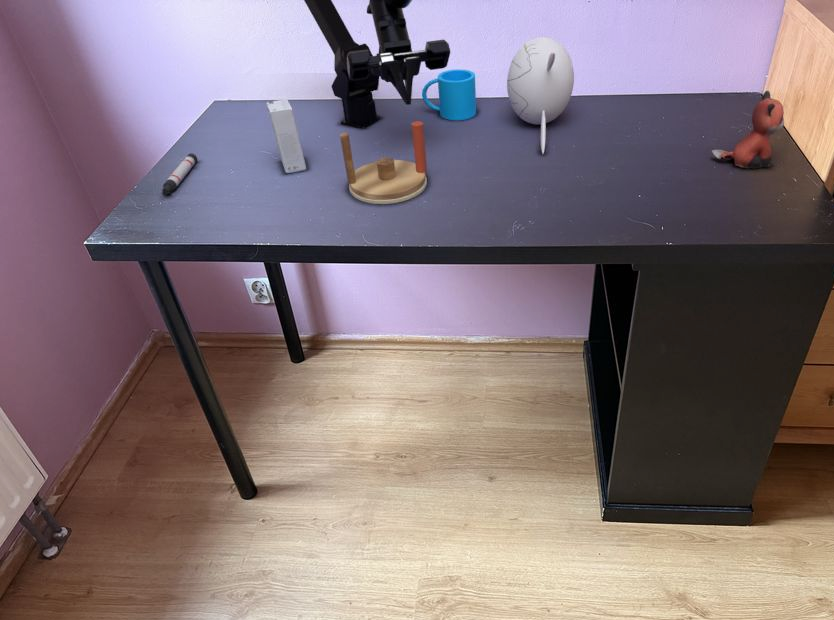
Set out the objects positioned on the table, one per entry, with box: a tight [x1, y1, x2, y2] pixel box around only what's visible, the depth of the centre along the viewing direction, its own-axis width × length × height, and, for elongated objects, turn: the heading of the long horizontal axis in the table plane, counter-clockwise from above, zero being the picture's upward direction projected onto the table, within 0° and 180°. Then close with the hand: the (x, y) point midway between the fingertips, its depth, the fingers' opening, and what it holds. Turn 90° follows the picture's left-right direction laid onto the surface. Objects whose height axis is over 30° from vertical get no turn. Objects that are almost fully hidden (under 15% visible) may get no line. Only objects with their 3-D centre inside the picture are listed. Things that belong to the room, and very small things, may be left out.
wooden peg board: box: [339, 120, 428, 200], centre depth 119 cm, size 14×14×10 cm
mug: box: [421, 68, 477, 121], centre depth 145 cm, size 12×8×8 cm
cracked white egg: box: [506, 36, 575, 155], centre depth 134 cm, size 19×14×25 cm
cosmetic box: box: [266, 98, 307, 174], centre depth 126 cm, size 6×4×12 cm
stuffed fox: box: [711, 90, 785, 170], centre depth 120 cm, size 8×11×12 cm
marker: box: [161, 153, 198, 195], centre depth 127 cm, size 15×2×2 cm, turn 178°
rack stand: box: [348, 175, 428, 205], centre depth 122 cm, size 14×14×1 cm
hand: (408, 103), depth 121 cm, fingers closed
